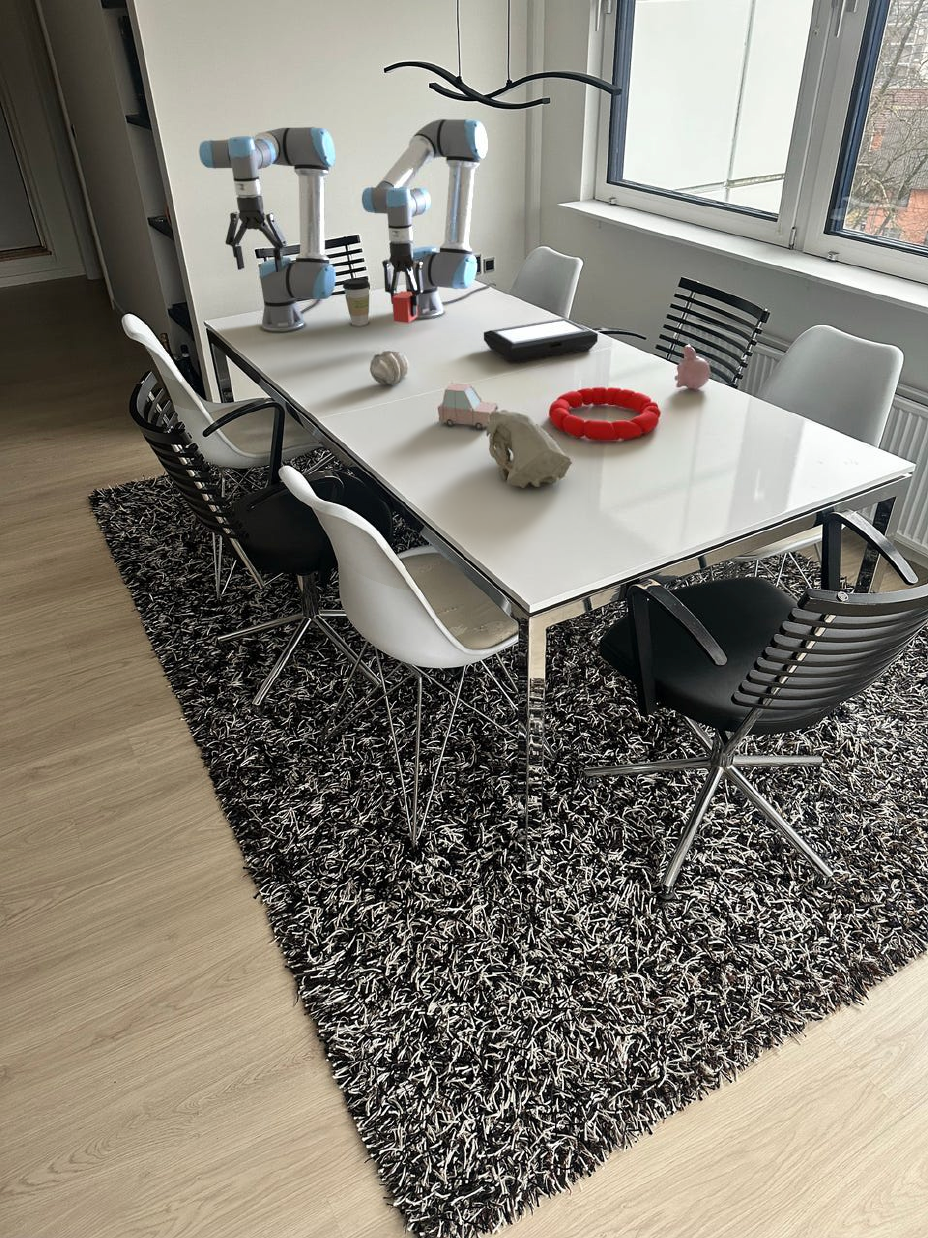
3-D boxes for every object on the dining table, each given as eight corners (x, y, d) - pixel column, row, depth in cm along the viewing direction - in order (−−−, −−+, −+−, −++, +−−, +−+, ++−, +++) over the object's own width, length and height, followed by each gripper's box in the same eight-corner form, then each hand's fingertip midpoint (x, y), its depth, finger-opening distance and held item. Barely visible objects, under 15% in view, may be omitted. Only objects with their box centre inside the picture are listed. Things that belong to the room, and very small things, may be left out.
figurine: (665, 387, 264) (669, 347, 257) (693, 380, 268) (698, 340, 261) (686, 396, 257) (690, 355, 250) (714, 388, 262) (720, 348, 255)
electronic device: (510, 346, 280) (483, 329, 295) (510, 365, 283) (483, 348, 299) (598, 331, 290) (567, 315, 305) (597, 350, 294) (567, 334, 309)
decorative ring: (589, 435, 224) (684, 402, 234) (527, 398, 247) (617, 369, 256) (589, 461, 229) (683, 427, 238) (529, 422, 251) (617, 393, 260)
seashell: (362, 383, 274) (359, 351, 268) (406, 374, 280) (403, 342, 274) (376, 393, 267) (373, 360, 261) (420, 383, 272) (418, 351, 267)
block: (393, 321, 297) (392, 296, 293) (403, 315, 303) (401, 291, 299) (408, 322, 296) (407, 298, 291) (417, 316, 301) (416, 292, 297)
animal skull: (496, 517, 219) (521, 479, 201) (463, 429, 225) (484, 384, 207) (557, 503, 225) (586, 465, 206) (523, 417, 231) (549, 373, 212)
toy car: (488, 432, 240) (488, 396, 234) (436, 426, 244) (434, 390, 239) (499, 419, 247) (499, 384, 241) (448, 413, 252) (447, 379, 246)
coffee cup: (372, 326, 323) (368, 283, 314) (345, 327, 323) (340, 284, 315) (374, 318, 331) (371, 276, 322) (348, 319, 331) (344, 277, 323)
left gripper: (206, 196, 266) (219, 270, 278) (279, 198, 259) (289, 274, 271) (219, 192, 272) (231, 264, 284) (292, 194, 265) (301, 268, 277)
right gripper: (369, 241, 285) (375, 315, 298) (423, 244, 280) (426, 319, 293) (379, 237, 291) (385, 309, 304) (432, 239, 285) (435, 313, 298)
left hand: (260, 269), depth 278 cm, fingers open, 13 cm apart
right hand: (405, 314), depth 298 cm, fingers closed on block, 5 cm apart
